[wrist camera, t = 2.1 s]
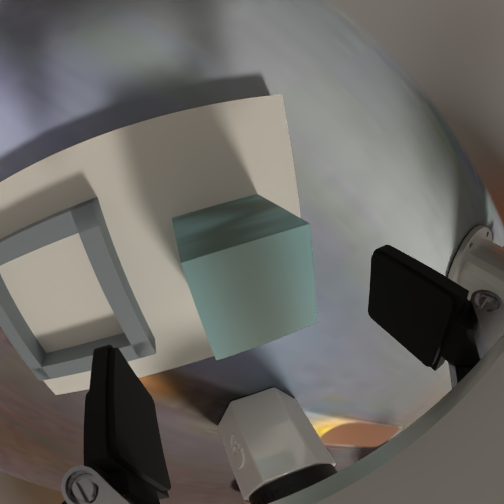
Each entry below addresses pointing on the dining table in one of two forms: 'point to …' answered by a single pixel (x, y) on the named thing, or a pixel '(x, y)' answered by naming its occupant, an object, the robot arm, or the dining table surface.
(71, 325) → the board
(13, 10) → the dining table surface
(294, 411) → the jar
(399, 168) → the dining table surface
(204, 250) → the teal block
